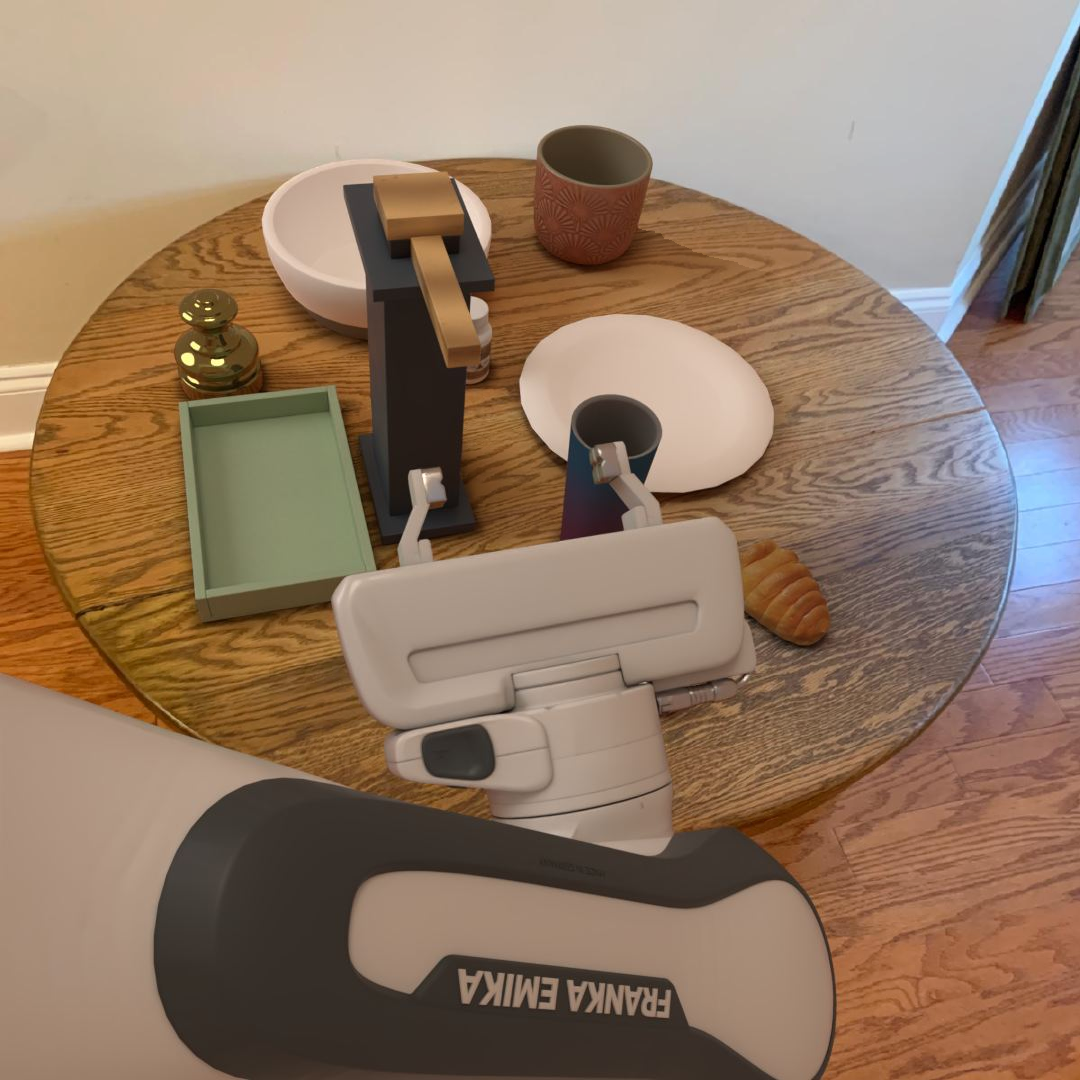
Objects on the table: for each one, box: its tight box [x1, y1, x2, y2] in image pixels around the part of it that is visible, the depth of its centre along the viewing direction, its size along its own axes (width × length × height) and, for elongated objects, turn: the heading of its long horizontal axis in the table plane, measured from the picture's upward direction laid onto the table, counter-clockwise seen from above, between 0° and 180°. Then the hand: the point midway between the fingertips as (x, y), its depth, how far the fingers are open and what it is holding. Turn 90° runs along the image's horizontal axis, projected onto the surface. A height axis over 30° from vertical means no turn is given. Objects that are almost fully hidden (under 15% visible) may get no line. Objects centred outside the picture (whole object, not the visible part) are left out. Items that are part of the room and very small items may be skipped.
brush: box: [373, 171, 481, 368], centre depth 61 cm, size 16×5×3 cm, turn 16°
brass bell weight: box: [173, 288, 264, 401], centre depth 88 cm, size 7×7×10 cm
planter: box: [533, 124, 654, 266], centre depth 107 cm, size 12×12×11 cm
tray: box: [178, 384, 378, 623], centre depth 82 cm, size 14×22×3 cm, turn 16°
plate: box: [518, 313, 775, 495], centre depth 95 cm, size 25×25×2 cm
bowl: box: [261, 158, 493, 341], centre depth 100 cm, size 22×22×8 cm
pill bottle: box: [466, 295, 493, 385], centre depth 93 cm, size 4×4×8 cm
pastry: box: [739, 538, 832, 646], centre depth 80 cm, size 9×7×4 cm
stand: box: [343, 177, 496, 546], centre depth 76 cm, size 8×12×26 cm, turn 16°
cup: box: [559, 394, 662, 541], centre depth 78 cm, size 7×7×15 cm
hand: (516, 457), depth 49 cm, fingers open, 8 cm apart
